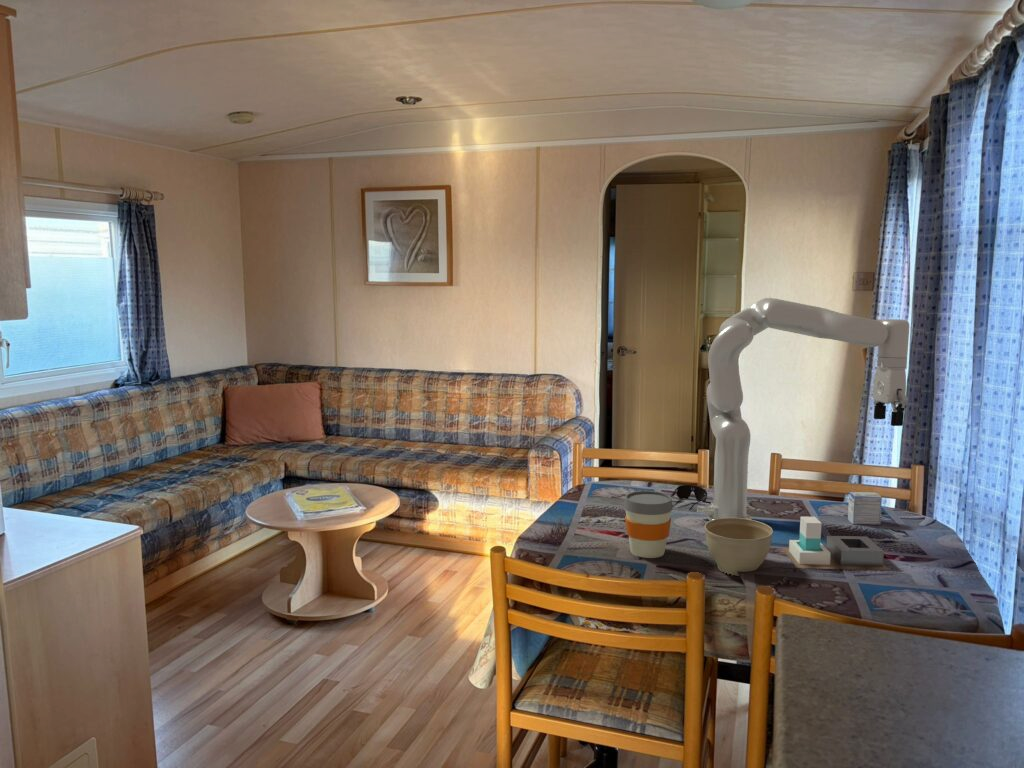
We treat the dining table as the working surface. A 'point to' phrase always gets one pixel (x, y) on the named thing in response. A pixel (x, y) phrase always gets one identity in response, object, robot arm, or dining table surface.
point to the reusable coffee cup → (647, 522)
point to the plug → (810, 534)
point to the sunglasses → (686, 490)
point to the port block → (855, 551)
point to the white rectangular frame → (809, 554)
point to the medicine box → (864, 508)
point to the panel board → (832, 565)
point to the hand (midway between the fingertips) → (887, 422)
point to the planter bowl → (738, 543)
